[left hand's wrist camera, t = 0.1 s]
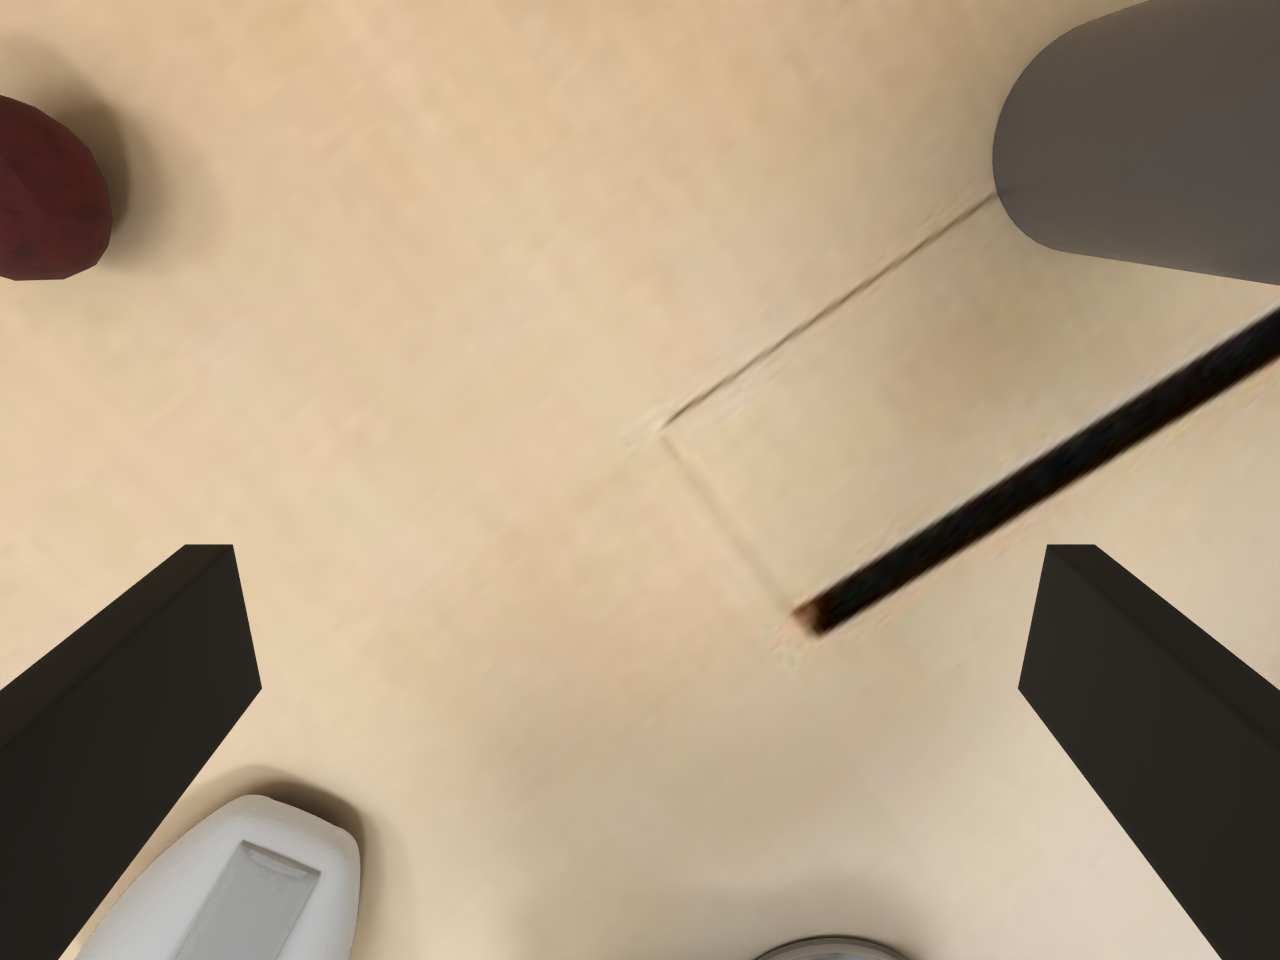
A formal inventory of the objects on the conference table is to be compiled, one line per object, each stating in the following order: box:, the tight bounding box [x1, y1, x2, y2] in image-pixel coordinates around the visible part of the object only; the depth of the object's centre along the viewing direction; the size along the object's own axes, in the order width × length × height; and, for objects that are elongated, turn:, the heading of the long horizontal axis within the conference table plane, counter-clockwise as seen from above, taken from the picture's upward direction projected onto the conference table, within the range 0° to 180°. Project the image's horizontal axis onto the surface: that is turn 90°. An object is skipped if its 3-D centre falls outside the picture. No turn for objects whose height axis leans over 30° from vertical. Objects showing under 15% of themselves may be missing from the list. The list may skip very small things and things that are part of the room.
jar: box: [993, 0, 1280, 285], centre depth 27 cm, size 10×10×20 cm
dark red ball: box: [0, 95, 113, 281], centre depth 33 cm, size 7×8×7 cm
